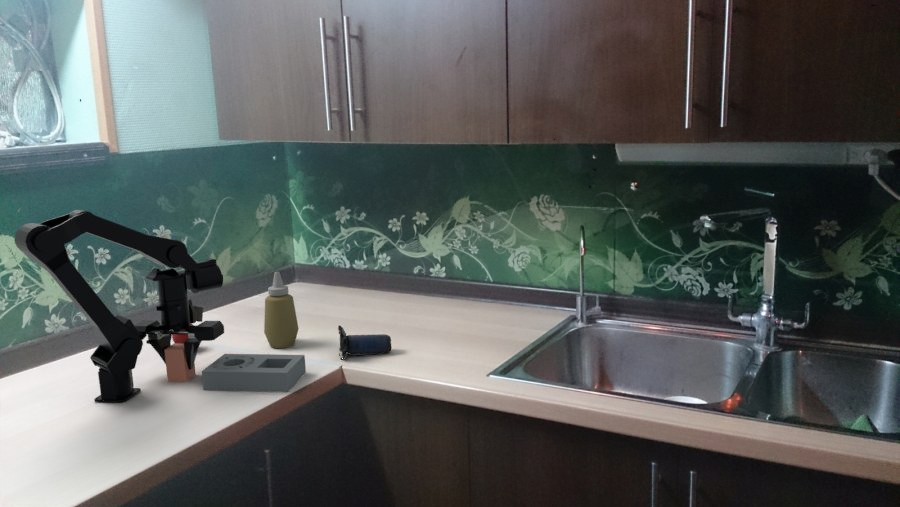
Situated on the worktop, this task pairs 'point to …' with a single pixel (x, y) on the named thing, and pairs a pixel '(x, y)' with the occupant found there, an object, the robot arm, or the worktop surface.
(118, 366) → the robot arm
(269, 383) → the socket block
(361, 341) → the flanged blue cylinder
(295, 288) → the worktop surface
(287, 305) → the squeeze bottle
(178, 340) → the onion
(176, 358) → the square peg
